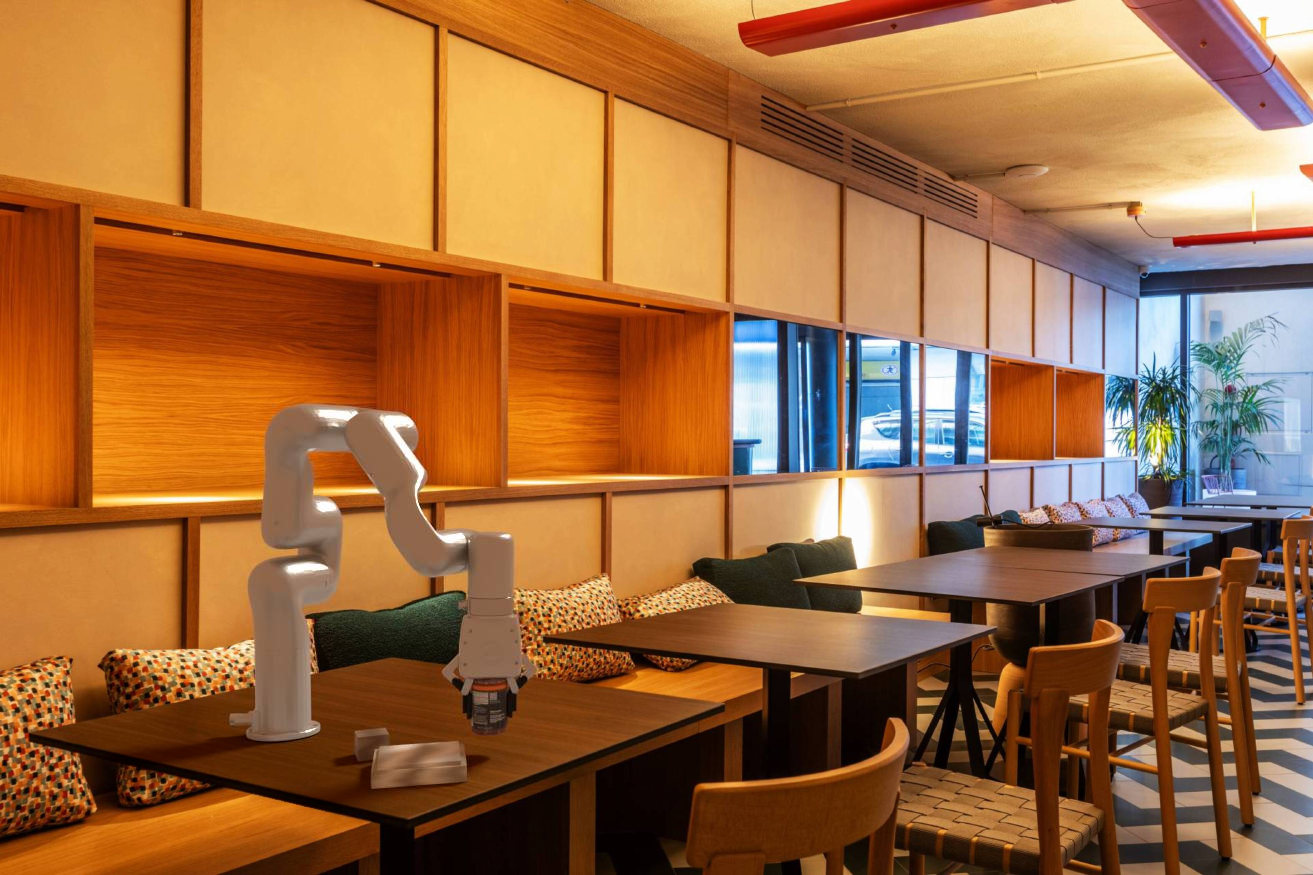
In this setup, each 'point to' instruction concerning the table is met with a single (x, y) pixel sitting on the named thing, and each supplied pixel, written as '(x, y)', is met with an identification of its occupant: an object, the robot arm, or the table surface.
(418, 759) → the stand
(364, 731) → the beige block
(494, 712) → the supplement bottle
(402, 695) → the table surface
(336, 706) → the table surface
